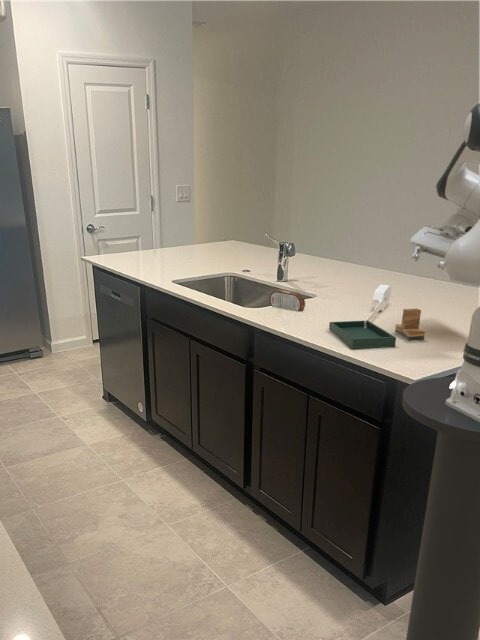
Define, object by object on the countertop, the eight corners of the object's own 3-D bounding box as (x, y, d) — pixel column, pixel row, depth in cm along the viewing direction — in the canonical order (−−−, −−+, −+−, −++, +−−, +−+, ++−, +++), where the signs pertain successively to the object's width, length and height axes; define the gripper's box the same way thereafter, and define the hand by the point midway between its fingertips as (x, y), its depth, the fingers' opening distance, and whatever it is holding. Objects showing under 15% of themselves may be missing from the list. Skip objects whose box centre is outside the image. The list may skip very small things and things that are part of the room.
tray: (395, 346, 168) (396, 337, 167) (352, 348, 167) (353, 339, 166) (367, 328, 189) (368, 320, 188) (328, 330, 187) (329, 322, 186)
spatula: (352, 335, 188) (364, 336, 186) (353, 313, 185) (365, 314, 183) (379, 301, 217) (389, 302, 215) (381, 281, 213) (391, 282, 211)
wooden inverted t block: (423, 340, 174) (427, 312, 171) (408, 341, 174) (412, 313, 170) (409, 332, 183) (412, 306, 180) (394, 333, 183) (397, 306, 180)
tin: (305, 314, 210) (306, 292, 207) (300, 316, 208) (301, 294, 205) (272, 308, 220) (273, 287, 217) (268, 309, 218) (268, 289, 214)
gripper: (424, 217, 174) (396, 247, 173) (484, 232, 160) (454, 265, 158) (427, 232, 179) (400, 261, 177) (486, 248, 164) (457, 280, 163)
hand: (426, 263), depth 168 cm, fingers open, 8 cm apart
